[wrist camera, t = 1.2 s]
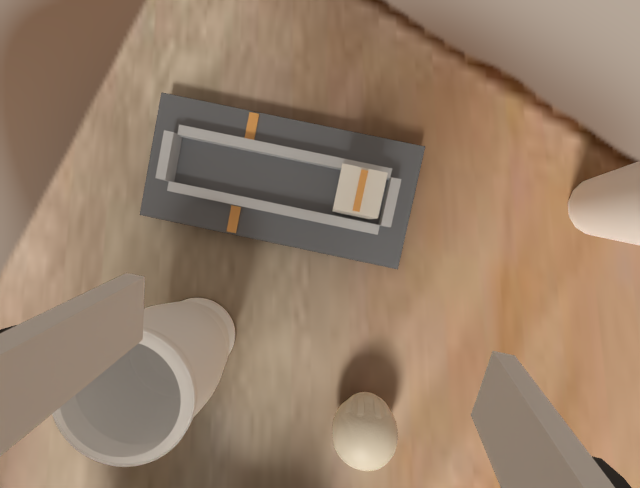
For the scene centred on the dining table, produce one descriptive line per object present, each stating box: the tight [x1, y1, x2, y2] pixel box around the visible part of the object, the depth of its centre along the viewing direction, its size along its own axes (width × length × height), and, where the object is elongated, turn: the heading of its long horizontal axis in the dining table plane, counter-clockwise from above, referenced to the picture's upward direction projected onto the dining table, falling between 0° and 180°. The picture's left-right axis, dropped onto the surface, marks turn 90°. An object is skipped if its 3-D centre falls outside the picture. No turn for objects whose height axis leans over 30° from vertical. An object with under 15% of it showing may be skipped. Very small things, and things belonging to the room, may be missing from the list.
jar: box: [52, 298, 235, 467], centre depth 32 cm, size 11×10×15 cm
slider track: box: [140, 93, 425, 269], centre depth 36 cm, size 13×28×4 cm, turn 78°
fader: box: [332, 163, 388, 219], centre depth 33 cm, size 4×4×6 cm
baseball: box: [332, 392, 398, 471], centre depth 36 cm, size 7×7×7 cm
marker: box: [227, 112, 259, 233], centre depth 36 cm, size 13×1×1 cm, turn 168°
